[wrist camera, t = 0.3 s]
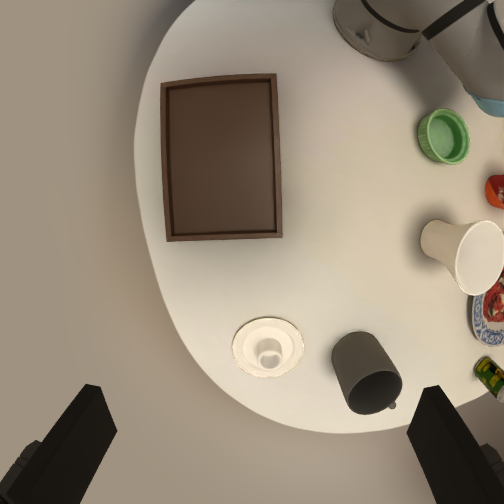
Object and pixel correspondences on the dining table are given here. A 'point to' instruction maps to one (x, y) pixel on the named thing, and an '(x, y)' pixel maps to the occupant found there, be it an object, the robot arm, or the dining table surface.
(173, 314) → the dining table surface
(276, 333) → the candle holder
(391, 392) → the mug
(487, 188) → the coffee cup
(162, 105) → the tray
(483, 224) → the cup
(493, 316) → the ceramic plate
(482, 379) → the green soda can
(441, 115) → the ramekin
